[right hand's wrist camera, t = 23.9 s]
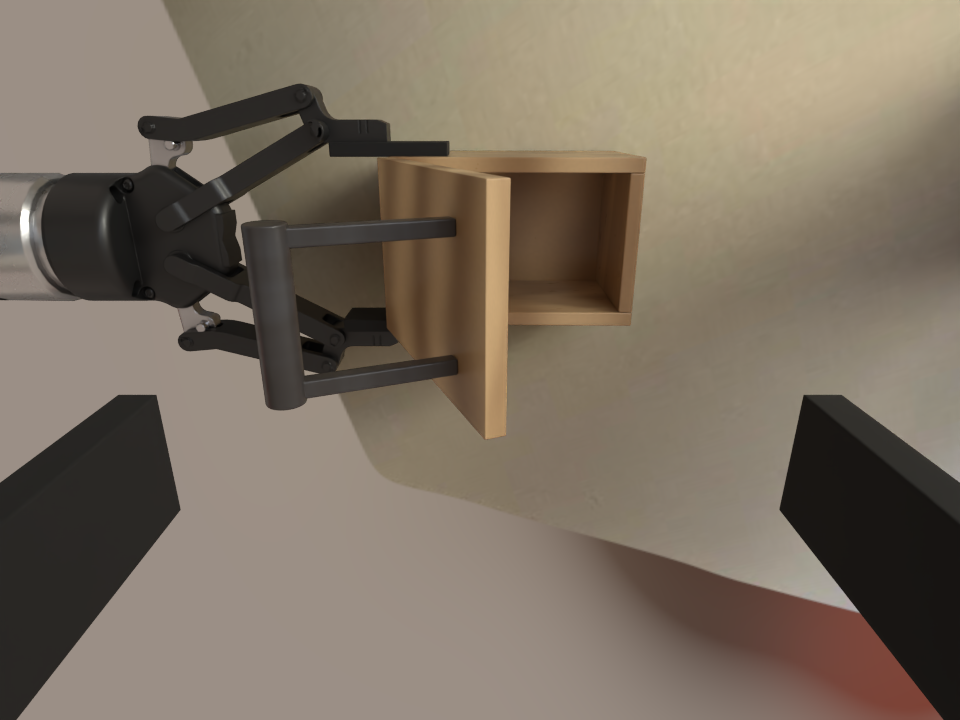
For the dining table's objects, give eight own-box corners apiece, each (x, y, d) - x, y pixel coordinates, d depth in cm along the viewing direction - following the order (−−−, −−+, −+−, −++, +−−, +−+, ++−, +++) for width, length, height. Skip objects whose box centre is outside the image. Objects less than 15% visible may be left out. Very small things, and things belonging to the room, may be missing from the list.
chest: (614, 151, 41) (647, 157, 33) (604, 288, 44) (630, 325, 36) (406, 150, 41) (386, 157, 33) (412, 287, 44) (395, 324, 36)
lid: (511, 177, 20) (237, 186, 17) (506, 436, 23) (278, 481, 20) (393, 157, 32) (225, 160, 29) (401, 326, 36) (252, 344, 33)
